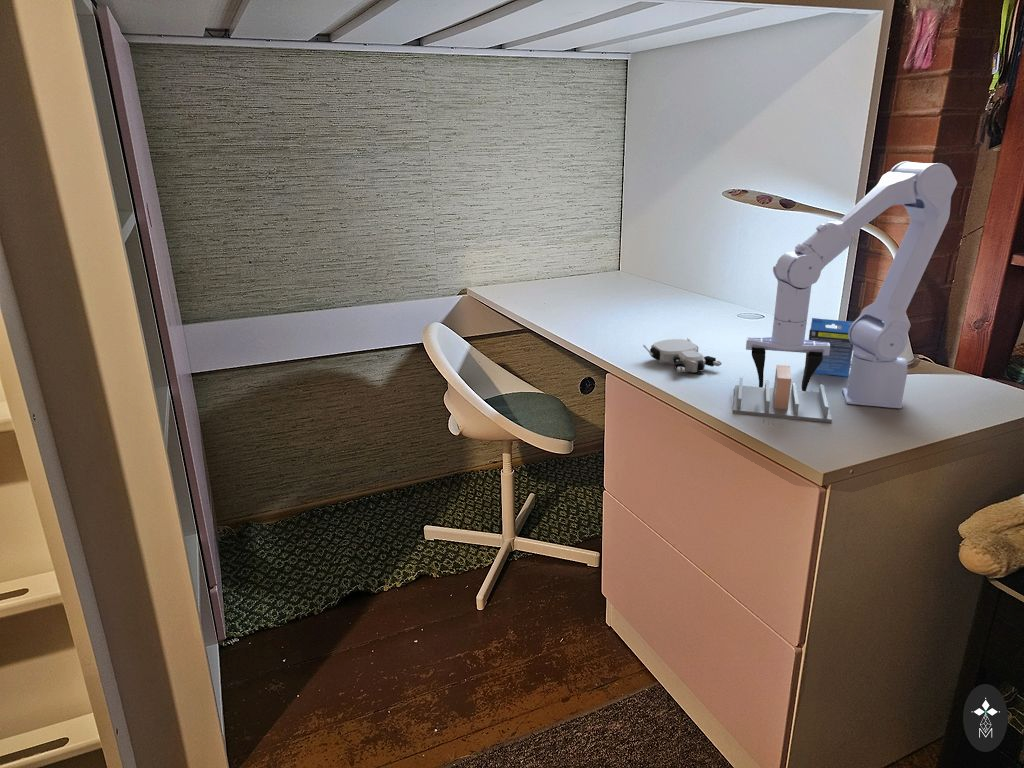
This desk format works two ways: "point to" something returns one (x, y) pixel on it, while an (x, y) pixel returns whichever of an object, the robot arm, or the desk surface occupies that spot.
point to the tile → (782, 386)
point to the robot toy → (681, 355)
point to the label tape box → (833, 346)
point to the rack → (799, 407)
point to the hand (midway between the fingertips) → (782, 387)
